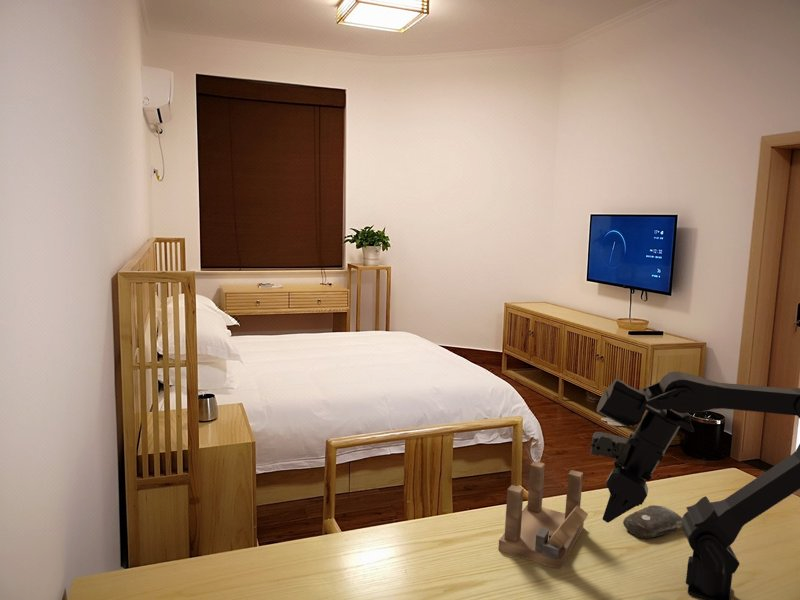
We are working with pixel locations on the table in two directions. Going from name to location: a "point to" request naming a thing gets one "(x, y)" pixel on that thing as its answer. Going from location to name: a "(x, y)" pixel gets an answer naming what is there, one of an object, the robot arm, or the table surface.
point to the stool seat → (539, 520)
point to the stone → (653, 522)
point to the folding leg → (568, 527)
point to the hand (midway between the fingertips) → (608, 511)
